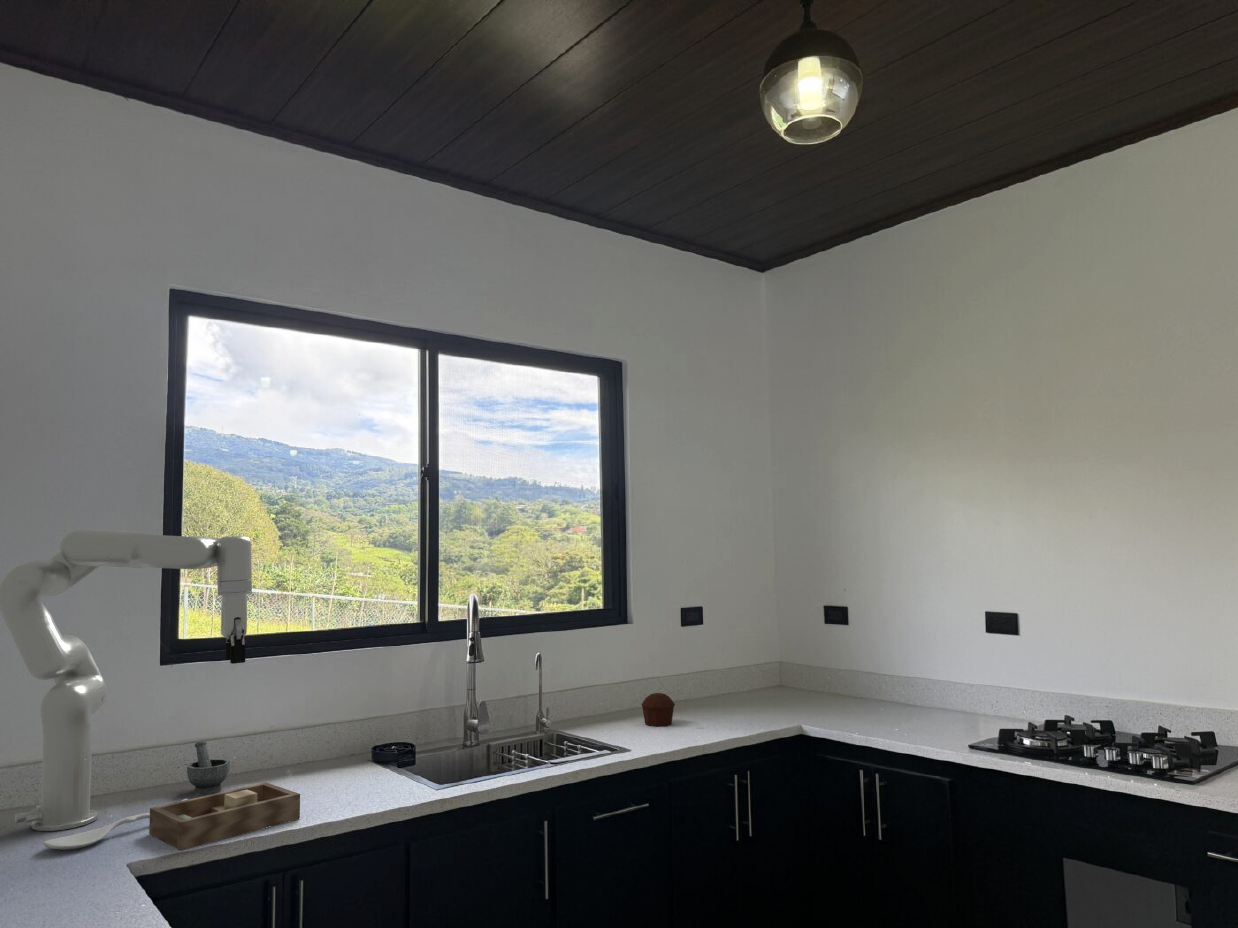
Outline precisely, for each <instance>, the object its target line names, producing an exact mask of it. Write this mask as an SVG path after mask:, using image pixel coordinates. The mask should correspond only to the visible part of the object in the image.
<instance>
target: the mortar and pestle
mask: <svg viewBox="0 0 1238 928" xmlns="http://www.w3.org/2000/svg"><path fill="white" fill-rule="evenodd" d="M207 743H208V742H207V741H206V740H200V741H196V743H194V748H195V749H196V757H197V761H195V762H191V763H189V764H188V765H187V767H186V772H187V773H186V774H187V775H186V776H187V779H188V782H190V784H191V785H192V786H194V787H195V788H194V793H195V794H194V795H197V796H199V795H200V796H207V795H211V794H216V793H220V792H221V791H222V790H221V789H222V783H223V782H224V781H225V780H226V778H227V777H228V775H229V771H230V766H231V765H230V763H231V761H230V760H228V759H224V758H219V759H218V758H212V759H211V758H210V756H209V752H208V747H207Z"/></svg>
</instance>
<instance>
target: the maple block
mask: <svg viewBox="0 0 1238 928" xmlns="http://www.w3.org/2000/svg"><path fill="white" fill-rule="evenodd" d="M256 802H257V793H255V792H253V791H250V790H242V791H238V792H233V793H229V794H225V800H224V810H227V809H231V808H235V807H239V806H244V805H248V804H252V803H256Z"/></svg>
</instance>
